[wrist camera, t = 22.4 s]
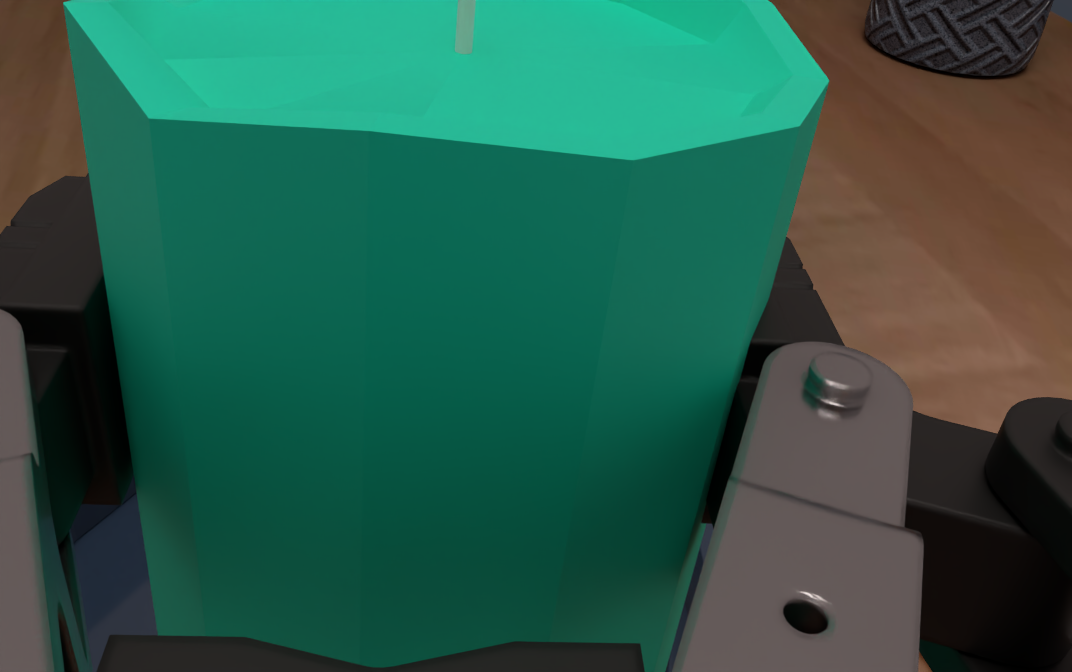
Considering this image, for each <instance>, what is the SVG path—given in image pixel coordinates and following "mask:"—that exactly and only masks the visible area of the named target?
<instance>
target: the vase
mask: <svg viewBox="0 0 1072 672" xmlns="http://www.w3.org/2000/svg"><path fill="white" fill-rule="evenodd" d="M1053 1H1054V0H871V2H870V6H869V9H868V13H867V16H866V20H865V34H866V36H867V38H868V39H869V41H870V42H871V43H873V44H874V45H875V46H877V47H878V48H880V49H882V50H883V51H885V52H887V53H889V54H891V55H893V56H895V57H897V58H900V59H902V60H905V61H907V62H910V63H913V64H916V65H919V66H922V67H926V68H930V69H934V70H939V71H943V72H949V73H955V74H963V75H974V76H997V75H1008V74H1013V73H1017V72H1019V71H1021V70H1023V69H1024V68H1025V67H1026V66H1027V65H1028V63H1029V62H1030V61H1031V59H1032V58H1033V56H1034V54H1035V51H1036V49H1037V46H1038V43H1039V41H1040V38H1041V35H1042V33H1043V30H1044V27H1045V24H1046V21H1047V18H1048V15H1049V12H1050V9H1051V6H1052V3H1053Z"/></svg>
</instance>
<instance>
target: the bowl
mask: <svg viewBox="0 0 1072 672" xmlns="http://www.w3.org/2000/svg"><path fill="white" fill-rule="evenodd" d="M713 530H714V529H713V525H712V524H706V527H705V530H704V534H703V538H702V541H701V545H700V549H699V552H698V556H697V559H696V563H695V567H694V570H693V574H692V577H691V581H690V585H689V588H688V592H687V595H686V599H685V603H684V606H683V610H682V613H681V617H680V621H679V624H678V628H677V631H676V635H675V639H674V642H673V646H672V649H671V653H670V657H669V660H668V664H667V667H666V671H665V672H672V669H673V666H674V662H675V659H676V655H677V652H678V649H679V645H680V642H681V638H682V635H683V632H684V628H685V625H686V621H687V618H688V615H689V611H690V608H691V605H692V601H693V598H694V594H695V591H696V588H697V584H698V581H699V577H700V574H701V571H702V567H703V564H704V560H705V557H706V554H707V550H708V547H709V543H710V540H711V537H712V533H713ZM70 531H71V535H72V539H73V543H74V548H75V552H76V559H77V565H78V572H79V579H80V586H81V592H82V599H83V606H84V613H85V620H86V626H87V633H88V640H89V647H90V653H91V660H92V667H93V672H97V669H98V666H99V663H100V660H101V658H102V655H103V652H104V649H105V646H106V644H107V641H108V638H109V635H158V632H157V626H156V619H155V612H154V606H153V599H152V592H151V586H150V579H149V572H148V566H147V559H146V552H145V546H144V539H143V532H142V526H141V519H140V512H139V506H138V499H137V492H136V486H135V479H134V475H133V478H132V480H131V483H130V485H129V488H128V490H127V493H126V495H125V498H124V500H123V503H122V505H92V504H81V506H80V508H79V510H78V513H77V515H76V517H75V519H74V522H73V524H72V526H71V528H70Z"/></svg>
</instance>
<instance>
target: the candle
mask: <svg viewBox="0 0 1072 672" xmlns="http://www.w3.org/2000/svg"><path fill="white" fill-rule="evenodd" d="M63 5H64V12H65V19H66V25H67V32H68V39H69V45H70V52H71V59H72V65H73V72H74V79H75V85H76V92H77V99H78V105H79V112H80V119H81V125H82V132H83V139H84V145H85V152H86V159H87V165H88V172H89V179H90V185H91V192H92V199H93V205H94V212H95V219H96V225H97V232H98V239H99V245H100V252H101V259H102V265H103V272H104V279H105V285H106V292H107V299H108V305H109V312H110V319H111V325H112V332H113V339H114V345H115V352H116V359H117V365H118V372H119V379H120V385H121V392H122V399H123V405H124V412H125V419H126V426H127V432H128V439H129V446H130V452H131V459H132V466H133V472H134V479H135V486H136V492H137V499H138V506H139V512H140V519H141V526H142V532H143V539H144V546H145V552H146V559H147V566H148V572H149V579H150V586H151V592H152V599H153V606H154V612H155V619H156V626H157V632H158V635H162V636H222V637H247V638H252V639H256V640H260V641H264V642H268V643H272V644H276V645H280V646H285V647H289V648H293V649H297V650H301V651H305V652H309V653H313V654H318V655H322V656H326V657H330V658H334V659H338V660H342V661H347V662H351V663H355V664H359V665H363V666H368V667H381V668H384V667H392V666H397V665H402V664H407V663H412V662H417V661H422V660H426V659H431V658H436V657H441V656H446V655H451V654H456V653H460V652H465V651H470V650H475V649H480V648H485V647H490V646H495V645H499V644H504V643H509V642H514V641H523V642H583V643H640V645H641V652H642V658H643V664H644V670H645V672H665V671H666V667H667V664H668V660H669V657H670V653H671V649H672V646H673V642H674V639H675V635H676V631H677V628H678V624H679V621H680V617H681V613H682V610H683V606H684V603H685V599H686V595H687V592H688V588H689V585H690V581H691V577H692V574H693V570H694V567H695V563H696V559H697V556H698V552H699V549H700V545H701V541H702V538H703V534H704V530H705V527H706V524H705V523H701V521H702V517H703V514H704V510H705V506H706V503H707V502H706V499H707V496H708V492H709V488H710V484H711V481H712V477H713V473H714V469H715V466H716V462H717V458H718V455H719V451H720V447H721V443H722V440H723V436H724V432H725V428H726V425H727V421H728V417H729V413H730V410H731V406H732V402H733V399H734V395H735V391H736V387H737V385H738V383H739V380H740V378H741V374H742V370H743V366H744V363H745V359H746V355H747V352H748V348H749V344H750V341H751V339H752V336H753V334H754V332H755V330H756V327H757V325H758V323H759V320H760V318H761V316H762V313H763V311H764V309H765V306H766V304H767V302H768V299H769V296H770V293H771V289H772V285H773V282H774V278H775V275H776V271H777V267H778V264H779V260H780V257H781V253H782V249H783V246H784V242H785V239H786V235H787V231H788V228H789V224H790V221H791V217H792V213H793V210H794V206H795V203H796V199H797V195H798V192H799V188H800V185H801V181H802V177H803V174H804V170H805V167H806V163H807V159H808V156H809V152H810V149H811V145H812V141H813V138H814V134H815V131H816V127H817V123H818V120H819V116H820V113H821V109H822V105H823V102H824V98H825V95H826V91H827V87H828V84H829V79H828V78H827V77H826V75H825V74H824V73H823V71H822V70H821V68H820V67H819V66H818V64H817V63H816V62H815V60H814V59H813V58H812V56H811V55H810V54H809V52H808V51H807V50H806V48H805V47H804V46H803V44H802V43H801V41H800V40H799V39H798V37H797V36H796V35H795V33H794V32H793V31H792V29H791V28H790V27H789V25H788V24H787V23H786V21H785V20H784V18H783V17H782V16H781V14H780V13H779V12H778V10H777V9H776V8H775V6H774V5H773V4H772V3H771V2H769V1H768V0H71V1H67V2H64V3H63Z"/></svg>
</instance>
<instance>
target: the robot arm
mask: <svg viewBox="0 0 1072 672" xmlns="http://www.w3.org/2000/svg"><path fill="white" fill-rule="evenodd" d="M802 266H803V264H802V262H801V260H800V258H799V256H798V254H797V252H796V250H795V248H794V246H793V244H792V243H791V241H790V239H789V238H787V237H786V239H785V242H784V246H783V249H782V253H781V257H780V260H779V264H778V267H777V271H776V275H775V278H774V282H773V285H772V289H771V293H770V296H769V299H768V302H767V304H766V306H765V309H764V311H763V313H762V316H761V318H760V320H759V323H758V325H757V327H756V330H755V332H754V334H753V336H752V339H751V341H750V344H749V348H748V352H747V355H746V359H745V363H744V366H743V370H742V374H741V378H740V380H739V383H738V385H737V387H736V391H735V395H734V399H733V402H732V406H731V410H730V413H729V417H728V421H727V425H726V428H725V432H724V436H723V440H722V443H721V447H720V451H719V455H718V458H717V462H716V466H715V469H714V473H713V477H712V481H711V484H710V488H709V492H708V496H707V499H706V502H707V503H706V506H705V510H704V514H703V517H702V521H701V523H705V524H712V525H713V529H714V530H713V533H712V537H711V540H710V543H709V547H708V550H707V554H706V557H705V560H704V564H703V567H702V571H701V574H700V577H699V581H698V584H697V588H696V591H695V594H694V598H693V601H692V605H691V608H690V611H689V615H688V618H687V621H686V625H685V628H684V632H683V635H682V638H681V642H680V645H679V649H678V652H677V655H676V659H675V662H674V666H673V669H672V672H918V660H919V651H920V653H921V654H922V656H923V658H924V659H925V661H926V662H927V664H928V665H929V667H930V668H931V670H932V671H933V672H1072V400H1067V399H1062V398H1051V397H1041V398H1032V399H1027V400H1024V401H1021V402H1018V403H1017V404H1015V405H1014V406H1012V407H1011V409H1010V410H1009V411H1008V412H1007V414H1006V416H1005V419H1004V421H1003V423H1002V425H1001V427H1000V430H999V432H998V434H996V433H992V432H988V431H984V430H980V429H976V428H972V427H968V426H964V425H960V424H956V423H952V422H948V421H944V420H940V419H936V418H933V417H930V416H926V415H923V414H921V413H918V412H915V411H913V399H912V395H911V393H910V390H909V388H908V387H907V385H906V384H905V382H904V381H903V380H902V379H901V377H900V376H899V375H898V374H897V373H896V372H894V371H893V370H892V369H891V368H890V367H888V366H887V365H885V364H884V363H882V362H881V361H879V360H877V359H875V358H873V357H872V356H870V355H868V354H865V353H863V352H860V351H858V350H855V349H852V348H849V347H846V346H845V345H844V343H843V341H842V340H841V338H840V336H839V334H838V332H837V330H836V328H835V326H834V324H833V322H832V320H831V318H830V316H829V314H828V312H827V310H826V309H825V307H824V305H823V303H822V301H821V299H820V297H819V295H818V293H817V291H816V290H813V283H812V281H811V279H810V277H809V276H808V274H807V272H806V270H805V269H802ZM133 475H134V472H133V466H132V459H131V452H130V446H129V439H128V432H127V426H126V419H125V412H124V405H123V399H122V392H121V385H120V379H119V372H118V365H117V359H116V352H115V345H114V339H113V332H112V325H111V319H110V312H109V305H108V299H107V292H106V285H105V279H104V272H103V265H102V259H101V252H100V245H99V239H98V232H97V225H96V219H95V212H94V205H93V199H92V192H91V185H90V179H89V173H88V174H87V176H86V177H75V176H65V177H63V178H61V179H59V180H58V181H56V182H54V183H52V184H51V185H49V186H47V187H45V188H43V189H42V190H40V191H38V192H36V193H35V194H33V195H31V196H30V197H29V198H28V199H27V200H26V202H25V203H24V204H23V206H22V207H21V208H20V210H19V211H18V212H17V213H16V215H15V216H14V217H13V219H12V220H11V226H6V228H5V229H4V230H3V232H2V233H1V234H0V672H93V667H92V660H91V653H90V647H89V640H88V633H87V626H86V620H85V613H84V606H83V599H82V592H81V586H80V579H79V572H78V565H77V559H76V552H75V548H74V543H73V539H72V535H71V531H70V528H71V526H72V524H73V522H74V519H75V517H76V515H77V513H78V510H79V508H80V506H81V504H92V505H122V503H123V500H124V498H125V495H126V493H127V490H128V488H129V485H130V483H131V480H132V478H133ZM97 672H645V670H644V664H643V658H642V652H641V645H640V643H583V642H523V641H514V642H509V643H504V644H499V645H495V646H490V647H485V648H480V649H475V650H470V651H465V652H460V653H456V654H451V655H446V656H441V657H436V658H431V659H426V660H422V661H417V662H412V663H407V664H402V665H397V666H392V667H384V668H381V667H368V666H363V665H359V664H355V663H351V662H347V661H342V660H338V659H334V658H330V657H326V656H322V655H318V654H313V653H309V652H305V651H301V650H297V649H293V648H289V647H285V646H280V645H276V644H272V643H268V642H264V641H260V640H256V639H252V638H247V637H222V636H162V635H109V638H108V641H107V644H106V646H105V649H104V652H103V655H102V658H101V660H100V663H99V666H98V669H97Z"/></svg>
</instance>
